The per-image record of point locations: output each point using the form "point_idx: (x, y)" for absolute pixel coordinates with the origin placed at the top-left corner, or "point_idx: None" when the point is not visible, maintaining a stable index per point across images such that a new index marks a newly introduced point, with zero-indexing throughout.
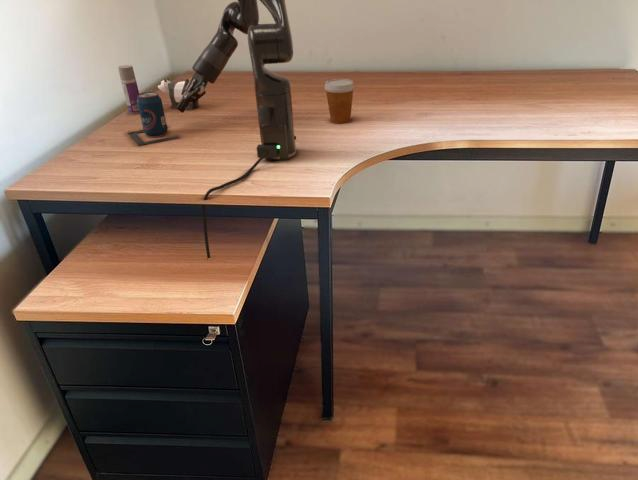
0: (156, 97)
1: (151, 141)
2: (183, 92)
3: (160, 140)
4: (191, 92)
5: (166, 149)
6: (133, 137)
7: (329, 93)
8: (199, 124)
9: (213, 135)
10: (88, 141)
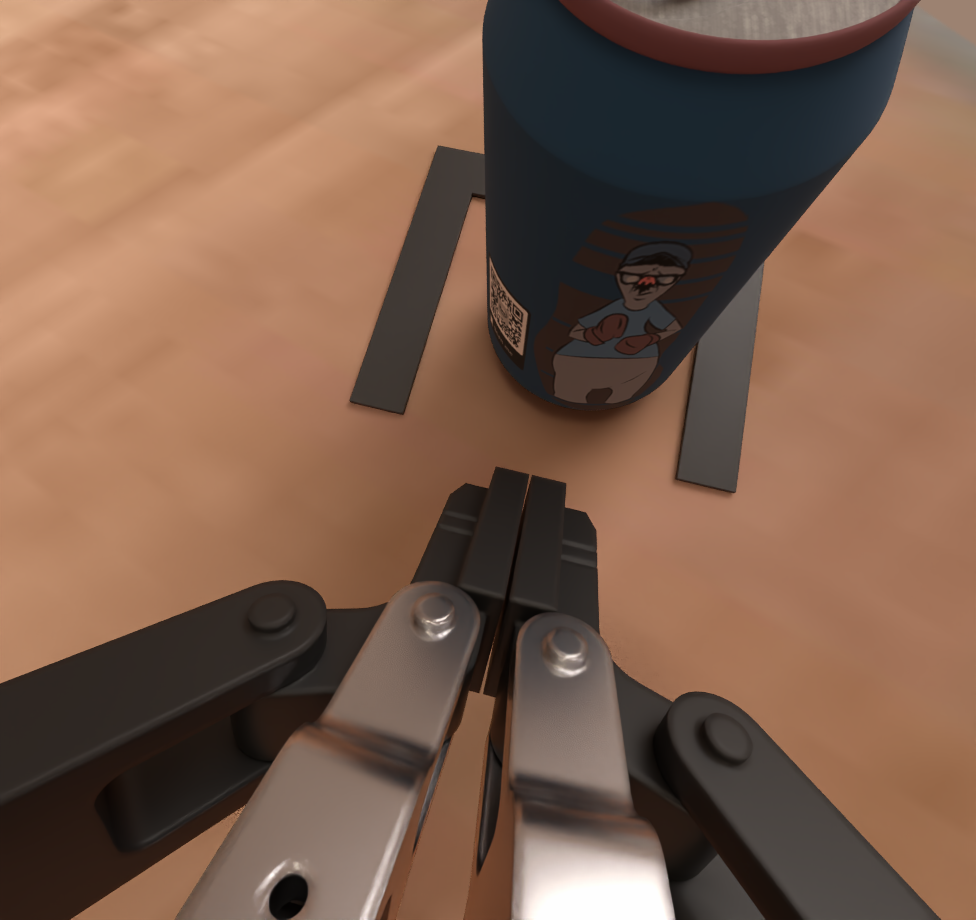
0: (534, 6)
1: (443, 229)
2: (680, 756)
3: (408, 277)
4: (105, 741)
5: (222, 227)
6: None
7: None
8: None
9: None
10: None
